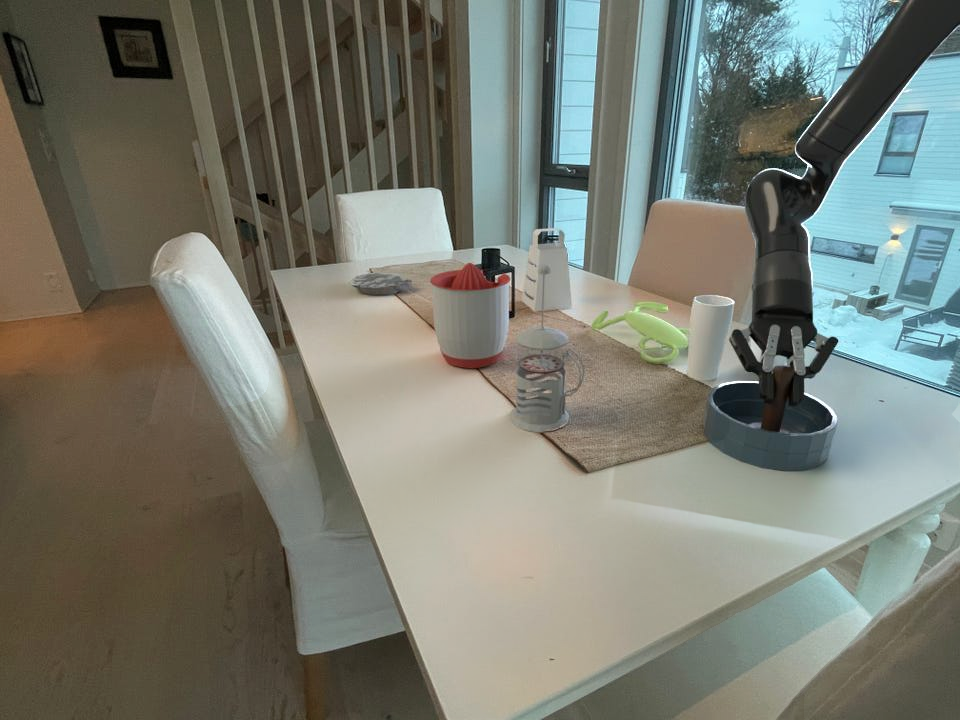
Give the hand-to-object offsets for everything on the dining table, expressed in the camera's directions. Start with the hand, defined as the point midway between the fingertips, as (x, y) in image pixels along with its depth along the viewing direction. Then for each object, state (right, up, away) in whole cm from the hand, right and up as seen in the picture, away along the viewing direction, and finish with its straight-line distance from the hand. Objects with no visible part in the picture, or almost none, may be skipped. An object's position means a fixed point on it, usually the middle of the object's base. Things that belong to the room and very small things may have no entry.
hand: (781, 402), depth 68 cm
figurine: (-3, +10, +46) cm, 47 cm away
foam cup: (+17, +5, +33) cm, 37 cm away
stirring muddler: (+1, -7, +5) cm, 8 cm away
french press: (-30, -4, +15) cm, 33 cm away
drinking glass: (+1, +2, +27) cm, 27 cm away
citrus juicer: (-41, +6, +38) cm, 57 cm away
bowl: (+1, -6, +7) cm, 9 cm away
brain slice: (-71, +27, +88) cm, 116 cm away
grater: (-22, +21, +71) cm, 77 cm away
